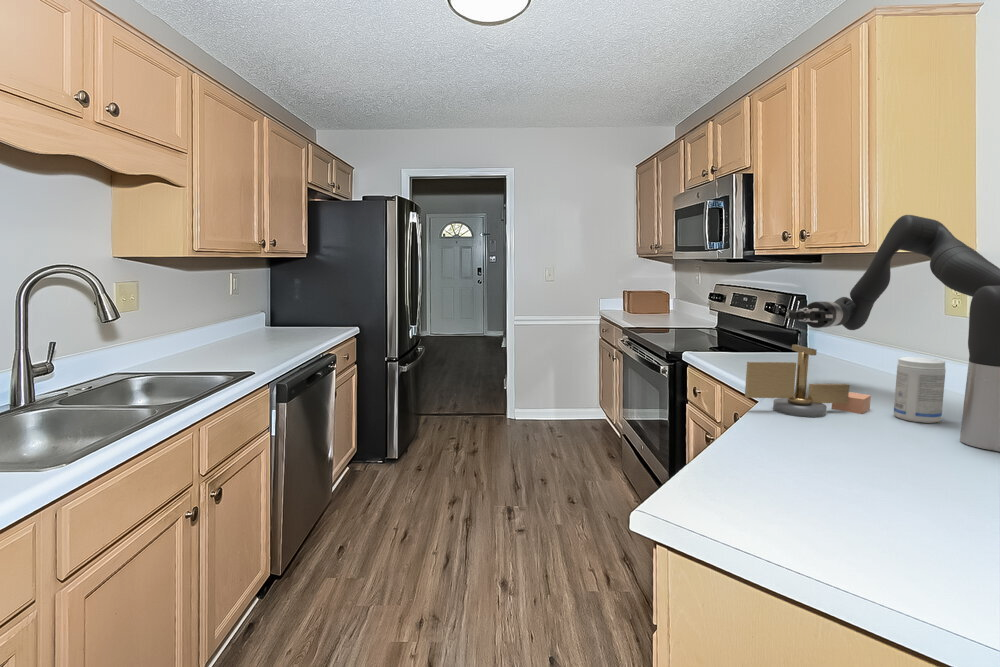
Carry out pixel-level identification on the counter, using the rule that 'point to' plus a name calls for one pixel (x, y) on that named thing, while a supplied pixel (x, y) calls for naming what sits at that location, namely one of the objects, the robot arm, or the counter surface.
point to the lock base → (799, 408)
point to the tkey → (791, 381)
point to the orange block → (854, 403)
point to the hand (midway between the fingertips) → (793, 315)
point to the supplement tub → (919, 389)
